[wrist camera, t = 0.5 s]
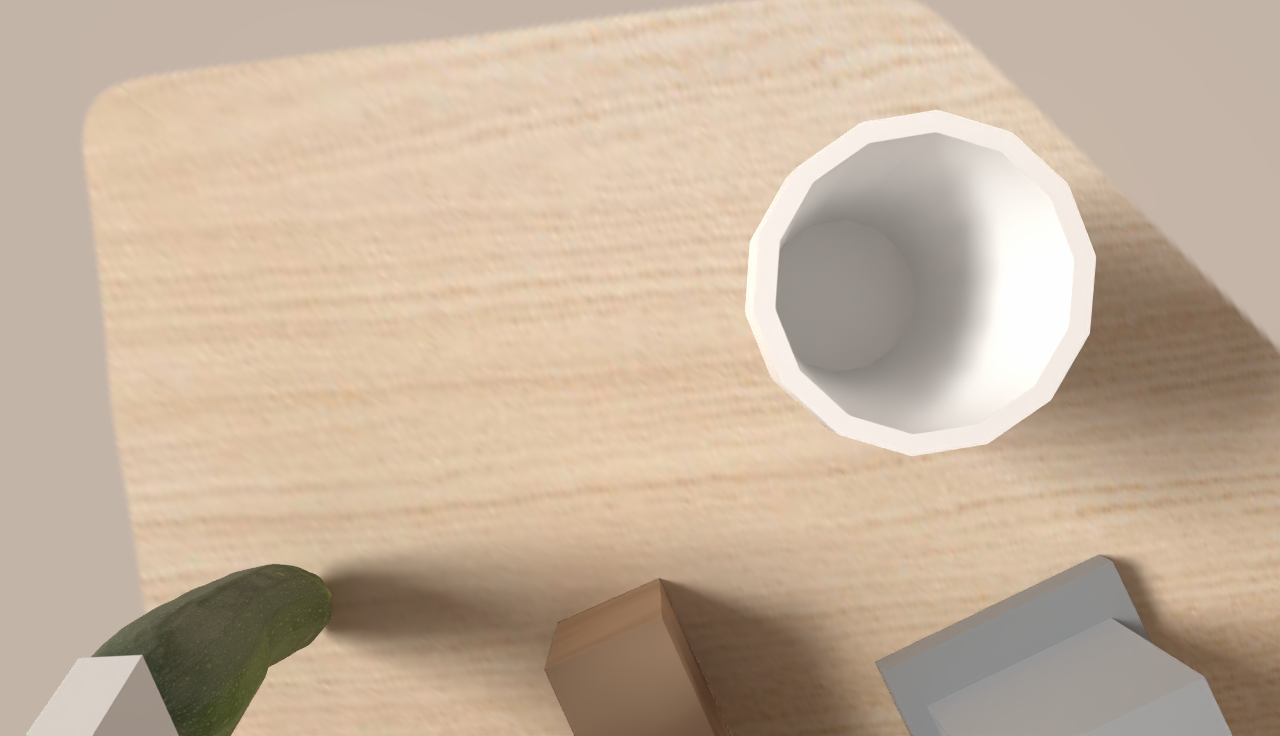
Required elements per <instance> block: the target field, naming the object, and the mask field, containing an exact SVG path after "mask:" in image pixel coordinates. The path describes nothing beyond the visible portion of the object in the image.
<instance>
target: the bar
mask: <svg viewBox="0 0 1280 736" xmlns="http://www.w3.org/2000/svg"><path fill="white" fill-rule="evenodd" d="M544 670H545V672H546V674H547V676H548V679H549V681H550V683H551V685H552V687H553V690H554V692H555V694H556V696H557V698H558V701H559V703H560V705H561V707H562V709H563V712H564V714H565V716H566V718H567V720H568V723H569V725H570V727H571V729H572V731H573V734H574V736H730V734H729V732H728V730H727V728H726V725H725V723H724V721H723V719H722V717H721V714H720V712H719V710H718V708H717V705H716V703H715V701H714V699H713V696H712V694H711V692H710V690H709V688H708V685H707V683H706V681H705V679H704V676H703V674H702V672H701V670H700V668H699V665H698V663H697V661H696V659H695V656H694V654H693V652H692V650H691V647H690V645H689V643H688V641H687V639H686V636H685V634H684V632H683V630H682V627H681V625H680V623H679V621H678V618H677V616H676V614H675V612H674V610H673V607H672V605H671V603H670V601H669V598H668V596H667V594H666V592H665V589H664V587H663V585H662V583H661V581H660V578H659V579H656V580H654V581H652V582H649V583H647V584H645V585H643V586H640V587H638V588H636V589H633V590H631V591H629V592H627V593H624V594H622V595H620V596H618V597H615V598H613V599H611V600H608V601H606V602H604V603H602V604H599V605H597V606H595V607H593V608H590V609H588V610H586V611H583V612H581V613H579V614H577V615H574V616H572V617H570V618H568V619H565V620H563V621H561V622H558V624H557V628H556V631H555V635H554V638H553V641H552V645H551V648H550V652H549V655H548V659H547V662H546V666H545V669H544Z"/></svg>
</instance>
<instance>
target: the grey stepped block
mask: <svg viewBox="0 0 1280 736" xmlns="http://www.w3.org/2000/svg"><path fill="white" fill-rule="evenodd" d="M875 663H876V665H877V667H878V669H879V671H880V673H881V675H882V677H883V679H884V681H885V683H886V685H887V687H888V690H889V692H890V694H891V696H892V698H893V700H894V702H895V704H896V706H897V708H898V710H899V712H900V714H901V716H902V718H903V720H904V722H905V724H906V727H907V729H908V731H909V733H910V735H911V736H1232V734H1231V731H1230V729H1229V727H1228V725H1227V723H1226V721H1225V719H1224V717H1223V715H1222V712H1221V710H1220V708H1219V706H1218V704H1217V702H1216V700H1215V698H1214V696H1213V693H1212V691H1211V689H1210V687H1209V685H1208V683H1207V681H1206V679H1205V677H1204V676H1203V675H1201V674H1199V673H1198V672H1196V671H1195V670H1193V669H1191V668H1190V667H1188V666H1187V665H1185V664H1184V663H1182V662H1180V661H1179V660H1177V659H1176V658H1174V657H1172V656H1171V655H1169V654H1168V653H1166V652H1164V651H1163V650H1161V649H1160V648H1158V647H1157V646H1155V645H1153V644H1152V643H1151V641H1150V639H1149V636H1148V634H1147V632H1146V630H1145V628H1144V626H1143V624H1142V622H1141V620H1140V618H1139V615H1138V613H1137V611H1136V609H1135V607H1134V605H1133V603H1132V601H1131V599H1130V597H1129V594H1128V592H1127V590H1126V588H1125V586H1124V584H1123V582H1122V580H1121V578H1120V575H1119V573H1118V571H1117V569H1116V567H1115V565H1114V563H1113V561H1111V560H1109V559H1107V558H1105V557H1103V556H1101V555H1098V556H1095V557H1093V558H1091V559H1089V560H1087V561H1085V562H1083V563H1081V564H1079V565H1077V566H1075V567H1073V568H1070V569H1068V570H1066V571H1064V572H1062V573H1060V574H1058V575H1056V576H1054V577H1052V578H1050V579H1048V580H1045V581H1043V582H1041V583H1039V584H1037V585H1035V586H1033V587H1031V588H1029V589H1027V590H1025V591H1023V592H1020V593H1018V594H1016V595H1014V596H1012V597H1010V598H1008V599H1006V600H1004V601H1002V602H1000V603H997V604H995V605H993V606H991V607H989V608H987V609H985V610H983V611H981V612H979V613H977V614H975V615H972V616H970V617H968V618H966V619H964V620H962V621H960V622H958V623H956V624H954V625H952V626H950V627H947V628H945V629H943V630H941V631H939V632H937V633H935V634H933V635H931V636H929V637H927V638H924V639H922V640H920V641H918V642H916V643H914V644H912V645H910V646H908V647H906V648H904V649H902V650H899V651H897V652H895V653H893V654H891V655H889V656H887V657H885V658H883V659H881V660H879V661H877V662H875Z"/></svg>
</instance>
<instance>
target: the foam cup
mask: <svg viewBox="0 0 1280 736" xmlns="http://www.w3.org/2000/svg"><path fill="white" fill-rule="evenodd" d="M1095 265H1096V255H1095V252H1094V249H1093V247H1092V244H1091V242H1090V239H1089V236H1088V234H1087V231H1086V229H1085V226H1084V223H1083V221H1082V218H1081V216H1080V213H1079V210H1078V208H1077V205H1076V203H1075V200H1074V198H1073V195H1072V192H1071V190H1070V187H1069V185H1068V184H1067V183H1066V182H1065V181H1064V180H1063V179H1062V178H1061V177H1060V176H1059V175H1058V174H1057V173H1056V172H1055V171H1053V170H1052V169H1051V168H1050V167H1049V166H1048V165H1047V164H1046V163H1045V162H1044V161H1043V160H1042V159H1040V158H1039V157H1038V156H1037V155H1036V154H1035V153H1034V152H1033V151H1032V150H1031V149H1030V148H1029V147H1028V146H1026V145H1025V144H1024V143H1023V142H1022V141H1021V140H1020V139H1019V138H1018V137H1017V136H1016V135H1015V134H1014V133H1012V132H1010V131H1007V130H1004V129H1000V128H997V127H994V126H990V125H987V124H984V123H980V122H977V121H974V120H970V119H967V118H964V117H960V116H957V115H954V114H950V113H947V112H943V111H940V110H933V111H927V112H921V113H915V114H909V115H903V116H897V117H890V118H884V119H878V120H872V121H866V122H861V123H859V124H858V125H856V126H855V127H854V128H852V129H851V130H849V131H848V132H846V133H845V134H844V135H842V136H841V137H839V138H838V139H836V140H835V141H834V142H832V143H831V144H829V145H828V146H826V147H825V148H824V149H822V150H821V151H819V152H818V153H816V154H815V155H814V156H812V157H811V158H809V159H808V160H806V161H805V162H804V163H802V164H801V165H799V166H798V167H797V168H796V169H795V170H794V171H793V172H792V173H791V174H790V175H789V176H788V177H787V178H786V179H785V181H784V182H783V184H782V186H781V188H780V189H779V191H778V193H777V195H776V196H775V198H774V200H773V202H772V204H771V205H770V207H769V209H768V211H767V212H766V214H765V216H764V218H763V219H762V221H761V223H760V225H759V227H758V228H757V230H756V232H755V234H754V235H753V237H752V239H751V241H750V249H749V264H748V278H747V293H746V308H745V314H746V316H747V319H748V321H749V324H750V326H751V329H752V331H753V334H754V336H755V339H756V341H757V344H758V346H759V349H760V351H761V354H762V356H763V359H764V361H765V364H766V366H767V369H768V371H769V374H770V376H771V379H772V380H774V381H775V382H776V383H777V384H778V385H779V386H780V387H781V388H782V389H783V390H785V391H786V392H787V393H788V394H789V395H790V396H791V397H792V398H793V399H794V400H796V401H797V402H798V403H799V404H800V405H801V406H802V407H803V408H804V409H805V410H807V411H808V412H809V413H810V414H811V415H812V416H813V417H814V418H815V419H816V420H818V421H819V422H820V423H821V424H822V425H823V426H824V427H826V428H828V429H830V430H831V431H833V432H835V433H837V434H838V435H842V436H845V437H849V438H852V439H855V440H859V441H862V442H865V443H869V444H872V445H876V446H879V447H882V448H886V449H889V450H892V451H896V452H899V453H903V454H906V455H909V456H916V455H922V454H928V453H934V452H941V451H947V450H953V449H959V448H966V447H972V446H978V445H984V444H988V443H990V442H991V441H992V440H994V439H995V438H997V437H998V436H1000V435H1001V434H1003V433H1004V432H1006V431H1007V430H1008V429H1010V428H1011V427H1013V426H1014V425H1016V424H1017V423H1019V422H1020V421H1022V420H1023V419H1024V418H1026V417H1027V416H1029V415H1030V414H1032V413H1033V412H1035V411H1036V410H1038V409H1039V408H1040V407H1042V406H1043V405H1045V404H1046V403H1048V402H1049V401H1051V399H1052V398H1053V396H1054V394H1055V392H1056V391H1057V389H1058V387H1059V386H1060V384H1061V382H1062V380H1063V379H1064V377H1065V375H1066V374H1067V372H1068V370H1069V368H1070V367H1071V365H1072V363H1073V362H1074V360H1075V358H1076V356H1077V355H1078V353H1079V351H1080V350H1081V348H1082V346H1083V344H1084V343H1085V341H1086V339H1087V337H1088V336H1089V334H1090V326H1091V313H1092V301H1093V289H1094V277H1095Z"/></svg>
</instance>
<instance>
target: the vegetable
mask: <svg viewBox="0 0 1280 736" xmlns="http://www.w3.org/2000/svg"><path fill="white" fill-rule="evenodd" d="M331 597H332V593H331V592H330V591H329V590H328V589H327V588H326V587H325V585H324V583H323V581H322V579H321V578H320V577H319V576H317V575H316V574H313V573H310V572H308V571H306V570H303V569H301V568H299V567H295V566H290V565H280V564H272V565H265V566H261V567H256V568H251V569H247V570H243V571H239V572H235V573H232V574H230V575H228V576H225V577H223V578H221V579H219V580H216V581H213V582H211V583H209V584H206V585H204V586H201V587H198V588H196V589H193V590H191V591H189V592H187V593H185V594H183V595H181V596H180V597H178V598H176V599H175V600H173V601H170V602H168V603H165V604H163V605H161V606H159V607H157V608H155V609H153V610H152V611H150V612H148V613H147V614H145V615H143V616H142V617H140V618H139V619H137V620H135V621H134V622H132V623H130V624H129V625H127V626H126V627H124V628H123V629H121V630H120V631H119V632H118V633H116V634H115V635H114V636H113V637H112V638H111V639H109V640H108V641H107V642H106V643H105V644H103V645H102V646H101V647H100V648H99V649H98V650H97V651H96V652H95V653H94V655H92V656H91V657H110V656H131V655H143V658H144V660H145V662H146V664H147V666H148V669H149V671H150V673H151V675H152V678H153V680H154V682H155V684H156V686H157V689H158V691H159V693H160V695H161V697H162V700H163V702H164V704H165V706H166V708H167V711H168V713H169V715H170V717H171V720H172V722H173V724H174V726H175V728H176V731H177V733H178V735H179V736H231V734H232V733H233V731H234V729H235V728H236V726H237V724H238V723H239V721H240V719H241V718H242V716H243V714H244V713H245V711H246V709H247V707H248V706H249V704H250V702H251V700H252V698H253V697H254V695H255V694H256V692H257V691H258V689H259V687H260V685H261V684H262V682H263V680H264V678H265V676H266V673H267V670H268V667H270V666H272V665H274V664H276V663H278V662H279V661H281V660H283V659H285V658H286V657H288V656H290V655H291V654H293V653H294V652H296V651H298V650H300V649H302V648H304V647H306V646H308V645H309V644H310V643H311V642H312V641H313V640H314V639H315V638H316V637H317V636H318V634H319V633H320V632H321V631H322V630H323V628H324V627H325V626H326V624H327V623H328V621H329V620H330V617H331V612H330V600H331Z"/></svg>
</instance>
